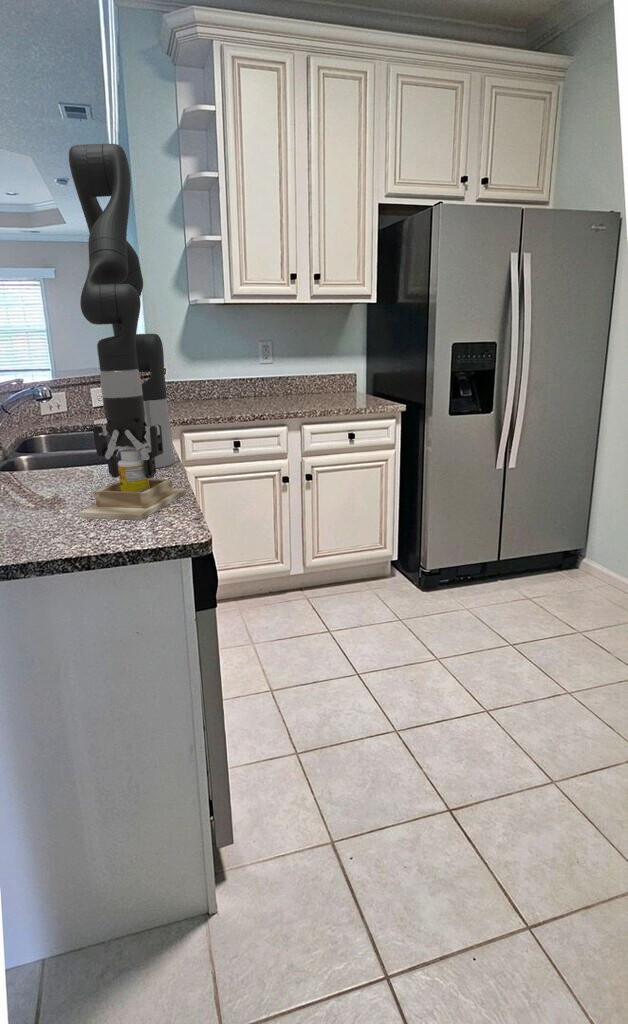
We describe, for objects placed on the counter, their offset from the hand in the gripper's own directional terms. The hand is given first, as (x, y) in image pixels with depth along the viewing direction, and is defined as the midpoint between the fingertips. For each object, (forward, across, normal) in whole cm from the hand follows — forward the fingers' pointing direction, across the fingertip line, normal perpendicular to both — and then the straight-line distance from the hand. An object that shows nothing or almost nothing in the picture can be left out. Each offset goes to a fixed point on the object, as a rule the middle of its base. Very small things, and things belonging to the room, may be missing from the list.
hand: (132, 476), depth 123 cm
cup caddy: (+6, 0, 0) cm, 6 cm away
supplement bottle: (+5, 0, 0) cm, 5 cm away
